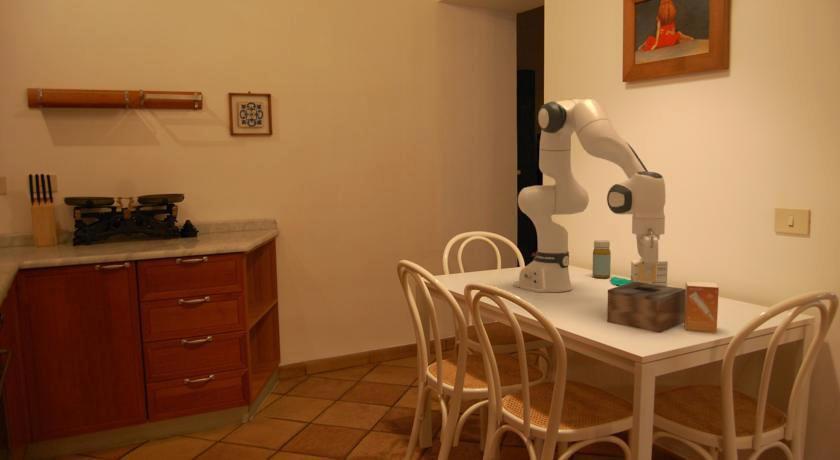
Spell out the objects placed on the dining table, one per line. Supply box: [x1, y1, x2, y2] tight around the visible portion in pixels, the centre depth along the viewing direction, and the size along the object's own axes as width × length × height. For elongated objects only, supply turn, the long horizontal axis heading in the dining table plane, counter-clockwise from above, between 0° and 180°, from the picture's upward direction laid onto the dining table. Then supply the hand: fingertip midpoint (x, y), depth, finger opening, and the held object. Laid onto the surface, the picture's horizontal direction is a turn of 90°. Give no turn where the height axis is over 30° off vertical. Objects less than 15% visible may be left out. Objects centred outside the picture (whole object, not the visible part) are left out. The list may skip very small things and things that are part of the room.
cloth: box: [608, 276, 631, 286], centre depth 225 cm, size 26×14×2 cm, turn 164°
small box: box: [683, 281, 720, 334], centre depth 164 cm, size 8×6×13 cm
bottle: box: [592, 239, 612, 279], centre depth 241 cm, size 7×7×15 cm
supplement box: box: [639, 257, 669, 286], centre depth 208 cm, size 7×7×13 cm
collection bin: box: [606, 282, 685, 334], centre depth 172 cm, size 16×16×10 cm
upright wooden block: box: [638, 262, 657, 281], centre depth 170 cm, size 5×2×5 cm, turn 63°
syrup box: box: [630, 259, 651, 284], centre depth 194 cm, size 6×6×14 cm
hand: (647, 274), depth 171 cm, fingers closed on upright wooden block, 3 cm apart
